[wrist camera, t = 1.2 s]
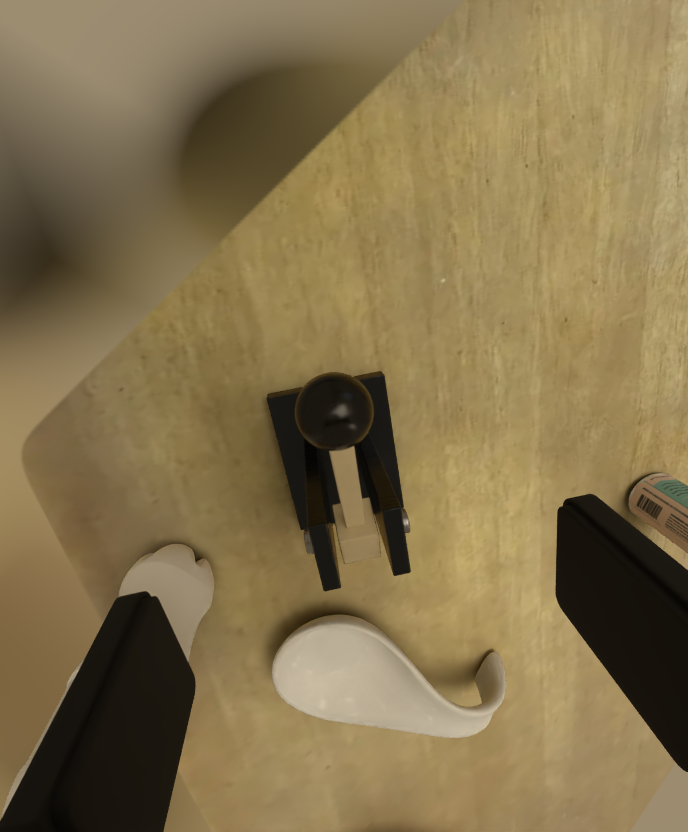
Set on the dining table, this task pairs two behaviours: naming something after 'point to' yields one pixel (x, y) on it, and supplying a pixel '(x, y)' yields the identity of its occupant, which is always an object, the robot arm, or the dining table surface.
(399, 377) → the dining table surface
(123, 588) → the water bottle
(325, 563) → the bracket
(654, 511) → the beer can
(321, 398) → the switch lever
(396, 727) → the spoon rest
